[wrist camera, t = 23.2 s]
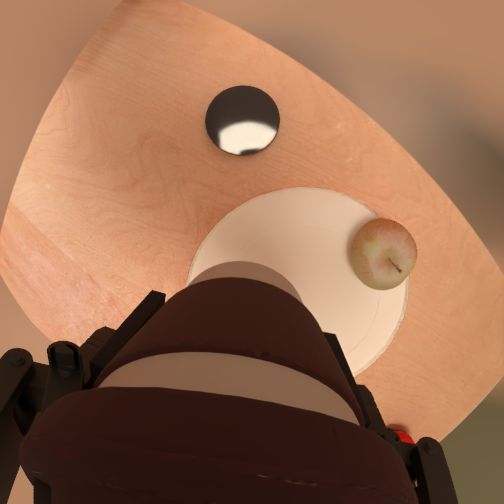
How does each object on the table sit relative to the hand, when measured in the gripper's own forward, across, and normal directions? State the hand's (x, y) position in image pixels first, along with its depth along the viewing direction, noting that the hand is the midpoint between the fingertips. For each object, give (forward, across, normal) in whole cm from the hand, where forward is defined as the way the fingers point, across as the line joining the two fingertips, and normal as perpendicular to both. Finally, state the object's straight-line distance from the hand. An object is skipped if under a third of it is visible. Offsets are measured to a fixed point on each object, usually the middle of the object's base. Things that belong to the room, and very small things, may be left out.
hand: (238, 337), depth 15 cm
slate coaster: (+19, -4, +14) cm, 24 cm away
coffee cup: (+2, 0, 0) cm, 2 cm away
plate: (+19, +8, -5) cm, 21 cm away
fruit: (+19, +14, +4) cm, 24 cm away
